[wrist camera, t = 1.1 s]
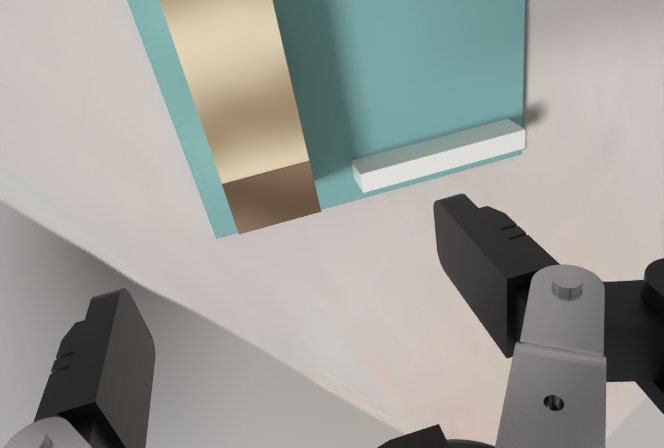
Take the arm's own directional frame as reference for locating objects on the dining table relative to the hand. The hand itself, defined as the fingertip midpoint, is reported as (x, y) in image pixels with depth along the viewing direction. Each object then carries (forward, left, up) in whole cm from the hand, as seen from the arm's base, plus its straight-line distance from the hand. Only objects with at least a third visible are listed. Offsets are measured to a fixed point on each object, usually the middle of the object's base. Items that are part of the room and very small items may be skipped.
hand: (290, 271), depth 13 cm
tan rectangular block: (0, 0, -16) cm, 16 cm away
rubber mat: (0, +6, -17) cm, 18 cm away
